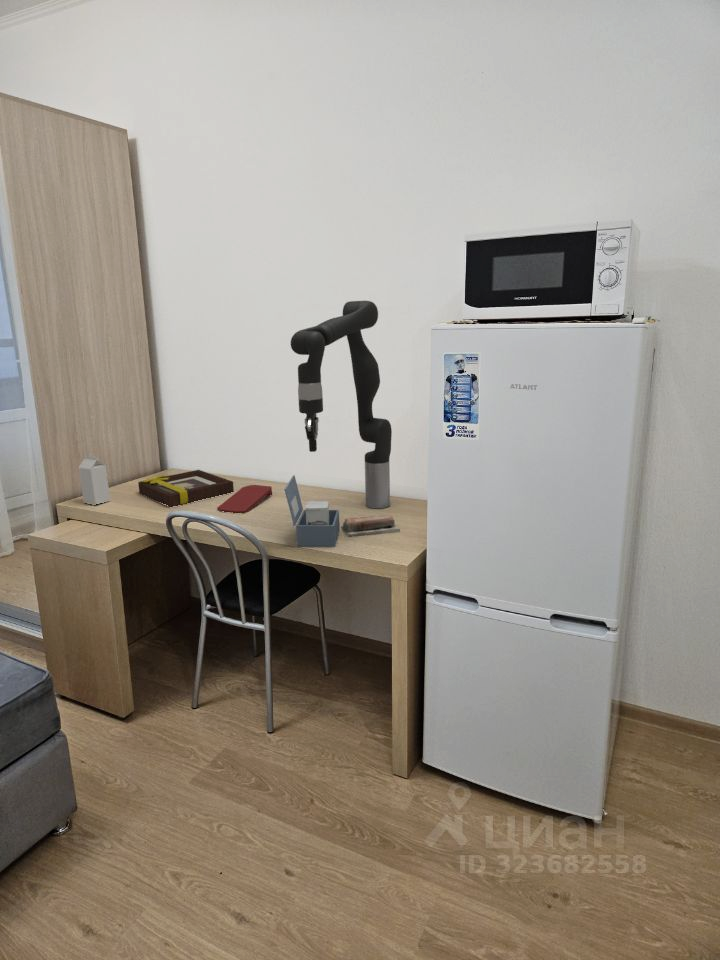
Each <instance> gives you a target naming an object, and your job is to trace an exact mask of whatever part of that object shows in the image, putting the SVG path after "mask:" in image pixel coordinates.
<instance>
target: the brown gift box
mask: <svg viewBox="0 0 720 960" xmlns="http://www.w3.org/2000/svg"><path fill="white" fill-rule="evenodd" d="M137 484H138V491H139V492H138V494H139V495H141V494H142V495H141V496H143V495H145V496H147V497H146V498H148V497H149V498H148V499H150V498H151V499H150V500H152V499H154V500H156V501H158V502H161V503H163V504H166V505H168V506H169V507H173V506H177V507H179V506H178V505H181V506H184V505H183V504H185V505H188V504H187V503H190V504H192V503H191V502H194V501H198V500H202V499H206V498H210V499H212V498H211V497H214V498H216V497H215V496H218V497H220V496H219V495H222V496H224V495H223V494H226V495H228V494H227V493H231V492H234V491H235V490H234V481H232V480H229V479H226V478H224V477H221V476H218V475H215V474H212V473H210V472H207V471H204V470H201V469H195V470H192V471H191V470H190V471H186V472H182V473H176V474H172V475H171V474H170V475H166V476H165V475H157V476H156V477H153V478H152V477H151V478H147V479H145V480H141V481H140V480H139V481H138V483H137ZM234 493H235V492H234ZM231 494H232V493H231ZM145 496H144V497H145ZM154 500H153V501H154ZM206 500H207V499H206ZM156 501H155V502H156ZM202 501H203V500H202ZM158 502H157V503H158ZM198 502H199V501H198ZM161 503H160V504H161ZM194 503H195V502H194ZM163 504H162V505H163ZM169 507H168V508H169ZM173 508H174V507H173Z"/></svg>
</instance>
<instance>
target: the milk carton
mask: <svg viewBox="0 0 720 960" xmlns="http://www.w3.org/2000/svg"><path fill="white" fill-rule="evenodd" d="M78 473H79V479H80V480H79V481H80V486H81V493H82V500H83V501H82V502H83V504H84V503H89V504H94V505H96V504H99V503H102V502H106V501H109V502H111V495H110V487H109V482H108V474H107V466H106V464H105V463H103V462H102V461H100V459H99V458H98V457H97V456H94V455H93V456H91V455H84V458H83V460H82V461H81V463H80V465H79V466H78ZM106 503H107V502H106ZM94 505H93V506H94Z"/></svg>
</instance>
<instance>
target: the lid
mask: <svg viewBox="0 0 720 960" xmlns="http://www.w3.org/2000/svg"><path fill="white" fill-rule="evenodd" d="M296 479H297V478H296V475H292V476H291V478H290V480H289V482H288V483H286V486H285V487H284V488H283V489H284V493H285V497H286V500H287V501H286V502H287V505H288V508H289V509H288V510H289V513H290V517H291V519H292V524H293V527H294V526H295V527H296V525H297V523H298V521H299V519H300V517H301V514H302V512H303V510H304V507H303V503H302V500H301V499H302V498H301V496H300V495H301V494H300V491H299V488H298V484H297V483H298V482H297V480H296Z"/></svg>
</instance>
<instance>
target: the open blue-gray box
mask: <svg viewBox="0 0 720 960" xmlns="http://www.w3.org/2000/svg"><path fill="white" fill-rule="evenodd" d="M295 529H296V534H295V535H296V547H297V548H298V547H300V548H301V547H302V548H303V547H304V548H309V547H311V548H312V547H313V548H314V547H317V548H321V547H322V548H327V547H328V548H329V547H330V548H333V547H336V544H337V541H338V537H339V534H338V533H340V531H341V530H340V509H329V525H306V509H303V511H302V513H301V515H300V517H299V519H298V521H297V523H296V525H295Z"/></svg>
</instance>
